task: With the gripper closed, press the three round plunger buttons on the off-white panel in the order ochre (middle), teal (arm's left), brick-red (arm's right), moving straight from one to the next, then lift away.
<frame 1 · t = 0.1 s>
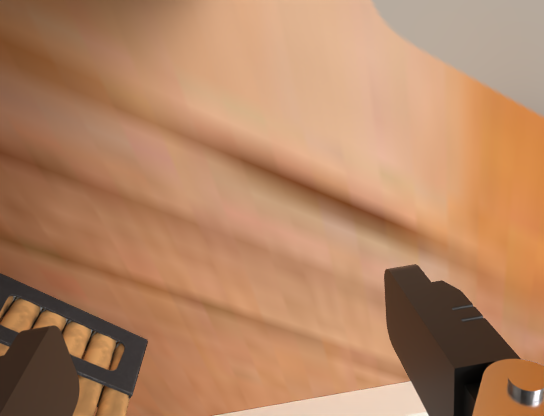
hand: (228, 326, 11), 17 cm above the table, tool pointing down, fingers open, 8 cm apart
ammunition clip: (71, 315, 31), on the table
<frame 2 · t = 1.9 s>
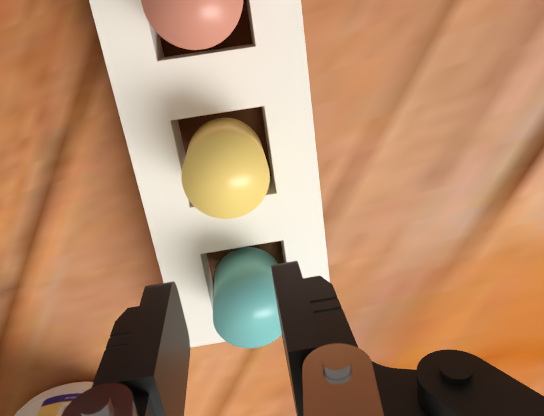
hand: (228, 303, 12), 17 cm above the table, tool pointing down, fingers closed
ochre button: (225, 165, 24), point 4 cm above the table, slide at 0.0 cm
teal button: (249, 295, 27), point 4 cm above the table, slide at 0.0 cm
panel: (225, 144, 28), on the table
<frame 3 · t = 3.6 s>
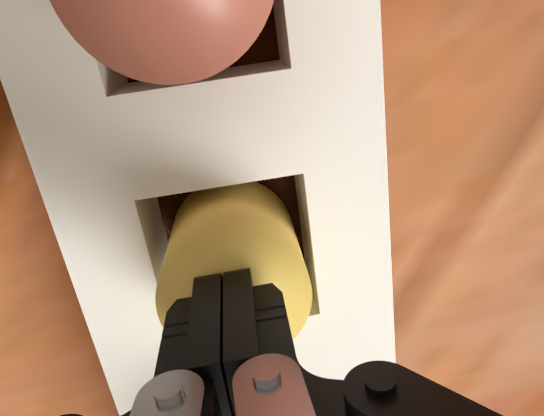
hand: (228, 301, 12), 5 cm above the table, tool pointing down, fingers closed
ochre button: (233, 263, 14), point 3 cm above the table, slide at 1.3 cm, touching gripper
panel: (232, 222, 17), on the table
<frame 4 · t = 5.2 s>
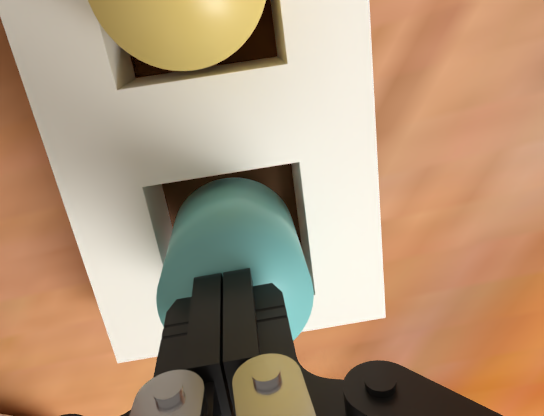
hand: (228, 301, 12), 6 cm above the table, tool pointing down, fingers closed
teal button: (235, 263, 14), point 4 cm above the table, slide at 0.1 cm, touching gripper
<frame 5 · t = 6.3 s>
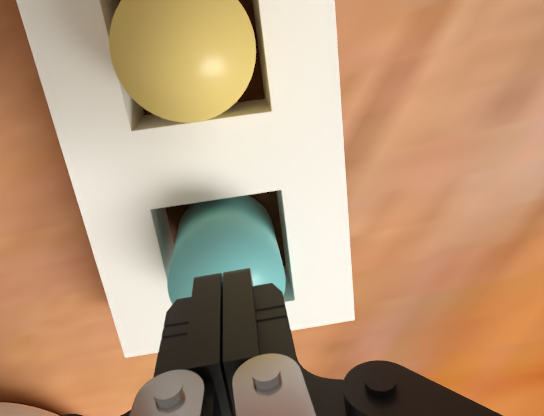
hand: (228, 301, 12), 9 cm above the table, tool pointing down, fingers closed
ochre button: (188, 46, 15), point 3 cm above the table, slide at 1.4 cm
teal button: (226, 257, 18), point 3 cm above the table, slide at 1.4 cm
panel: (193, 43, 18), on the table
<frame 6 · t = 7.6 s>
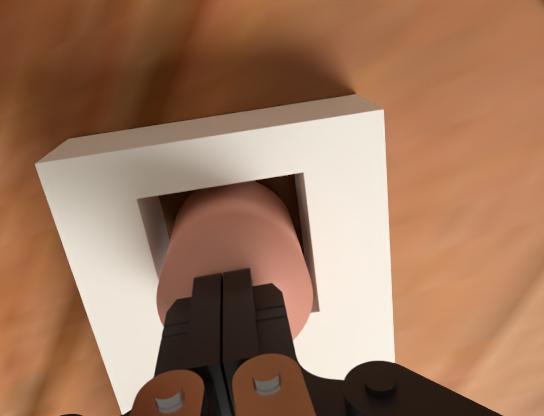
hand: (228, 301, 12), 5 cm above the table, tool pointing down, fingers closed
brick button: (234, 263, 14), point 3 cm above the table, slide at 1.1 cm, touching gripper
panel: (263, 384, 20), on the table
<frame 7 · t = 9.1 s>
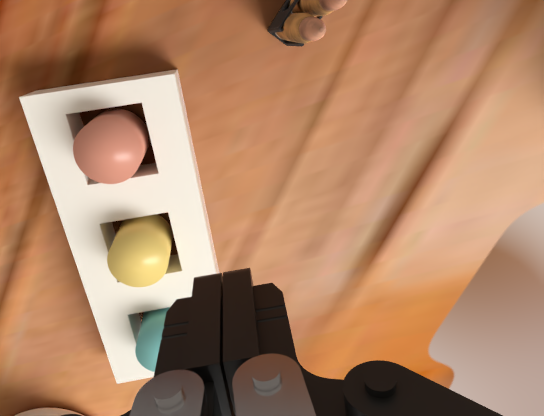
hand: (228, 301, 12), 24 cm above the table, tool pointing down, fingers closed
ochre button: (142, 248, 35), point 3 cm above the table, slide at 1.4 cm
teal button: (165, 334, 38), point 3 cm above the table, slide at 1.4 cm
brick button: (113, 144, 32), point 3 cm above the table, slide at 1.4 cm
panel: (147, 231, 37), on the table
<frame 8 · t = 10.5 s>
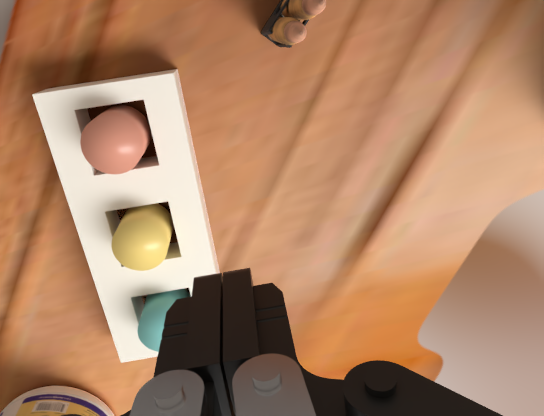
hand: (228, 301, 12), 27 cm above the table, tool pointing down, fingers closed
ochre button: (144, 234, 37), point 3 cm above the table, slide at 1.4 cm
teal button: (166, 316, 40), point 3 cm above the table, slide at 1.4 cm
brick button: (118, 138, 34), point 3 cm above the table, slide at 1.4 cm
panel: (149, 220, 40), on the table
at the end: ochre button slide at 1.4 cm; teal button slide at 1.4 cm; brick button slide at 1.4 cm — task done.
